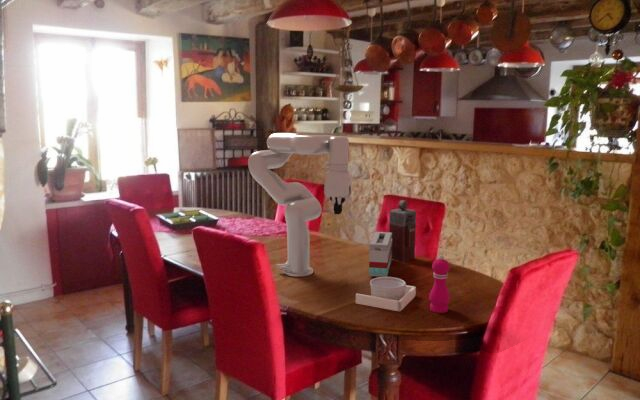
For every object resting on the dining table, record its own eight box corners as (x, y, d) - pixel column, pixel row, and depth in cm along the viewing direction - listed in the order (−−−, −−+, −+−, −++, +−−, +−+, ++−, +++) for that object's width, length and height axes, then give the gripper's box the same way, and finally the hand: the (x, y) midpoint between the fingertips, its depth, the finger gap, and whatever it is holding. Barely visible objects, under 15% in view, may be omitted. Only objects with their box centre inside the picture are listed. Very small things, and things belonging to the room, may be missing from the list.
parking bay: (355, 303, 191) (355, 294, 190) (374, 288, 207) (374, 280, 206) (400, 311, 183) (400, 302, 183) (415, 295, 199) (416, 286, 198)
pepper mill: (426, 306, 188) (428, 252, 185) (445, 305, 189) (448, 252, 185) (432, 313, 181) (434, 258, 178) (452, 313, 182) (455, 257, 178)
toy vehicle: (392, 259, 246) (393, 228, 244) (387, 280, 217) (388, 245, 214) (375, 258, 248) (375, 227, 245) (368, 278, 219) (368, 244, 216)
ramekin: (369, 293, 202) (369, 275, 201) (403, 294, 201) (404, 276, 200) (369, 305, 189) (370, 287, 188) (406, 307, 188) (407, 288, 186)
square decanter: (407, 263, 240) (409, 203, 235) (388, 258, 248) (389, 200, 243) (418, 259, 246) (420, 201, 241) (399, 254, 254) (401, 198, 249)
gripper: (317, 167, 205) (316, 213, 208) (351, 170, 198) (350, 217, 201) (325, 165, 212) (325, 210, 215) (359, 168, 205) (358, 214, 208)
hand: (337, 213), depth 208 cm, fingers closed
